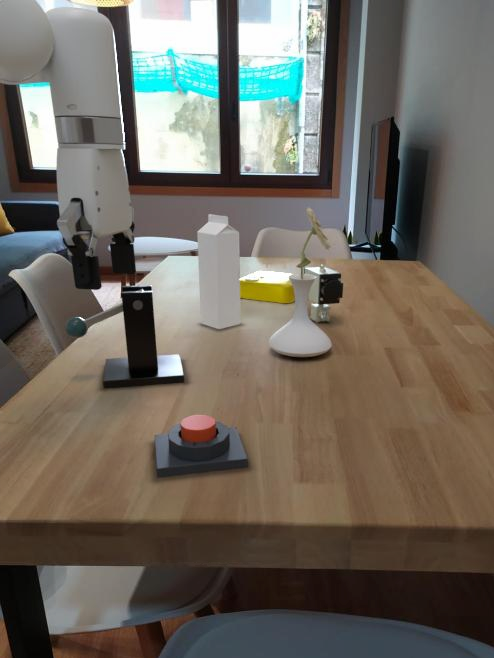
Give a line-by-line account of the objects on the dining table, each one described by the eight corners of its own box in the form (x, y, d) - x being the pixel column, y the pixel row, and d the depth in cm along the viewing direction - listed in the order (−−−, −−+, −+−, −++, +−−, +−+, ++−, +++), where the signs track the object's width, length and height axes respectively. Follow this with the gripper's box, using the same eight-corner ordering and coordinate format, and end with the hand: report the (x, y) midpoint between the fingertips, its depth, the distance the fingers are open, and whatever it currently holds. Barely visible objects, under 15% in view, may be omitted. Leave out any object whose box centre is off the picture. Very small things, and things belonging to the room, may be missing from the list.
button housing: (157, 478, 59) (155, 454, 58) (155, 443, 66) (153, 421, 65) (247, 467, 61) (247, 444, 60) (236, 435, 69) (235, 413, 67)
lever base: (103, 388, 82) (92, 298, 76) (106, 365, 90) (97, 283, 85) (184, 382, 84) (179, 294, 79) (179, 360, 93) (175, 280, 88)
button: (182, 445, 61) (181, 431, 60) (180, 429, 64) (179, 416, 63) (218, 441, 62) (217, 428, 61) (213, 426, 65) (213, 413, 64)
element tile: (289, 304, 131) (290, 284, 129) (234, 297, 136) (233, 278, 134) (310, 291, 144) (311, 273, 142) (259, 286, 149) (259, 268, 147)
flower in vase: (323, 366, 92) (330, 212, 83) (259, 358, 95) (260, 209, 86) (339, 343, 104) (347, 206, 94) (282, 337, 107) (284, 204, 97)
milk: (222, 318, 118) (220, 213, 110) (241, 324, 115) (240, 215, 106) (200, 323, 114) (196, 214, 106) (218, 329, 110) (216, 217, 102)
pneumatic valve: (321, 328, 113) (323, 270, 108) (299, 314, 123) (301, 260, 118) (344, 326, 115) (348, 269, 110) (322, 312, 125) (324, 259, 120)
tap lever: (71, 344, 81) (59, 325, 80) (73, 337, 84) (62, 319, 83) (151, 308, 82) (141, 289, 81) (150, 303, 85) (141, 285, 84)
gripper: (97, 138, 72) (111, 267, 79) (15, 132, 57) (42, 294, 63) (150, 138, 71) (160, 269, 78) (82, 133, 55) (102, 297, 62)
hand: (107, 280), depth 70 cm, fingers open, 9 cm apart
